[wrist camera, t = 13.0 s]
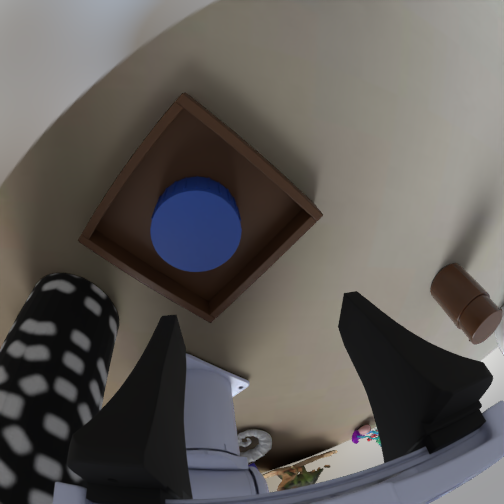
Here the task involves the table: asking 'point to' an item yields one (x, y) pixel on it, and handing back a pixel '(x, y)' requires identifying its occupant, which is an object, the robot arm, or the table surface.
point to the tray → (205, 165)
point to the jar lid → (196, 224)
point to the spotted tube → (51, 383)
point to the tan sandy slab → (298, 480)
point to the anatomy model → (365, 430)
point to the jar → (466, 303)
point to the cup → (500, 333)
